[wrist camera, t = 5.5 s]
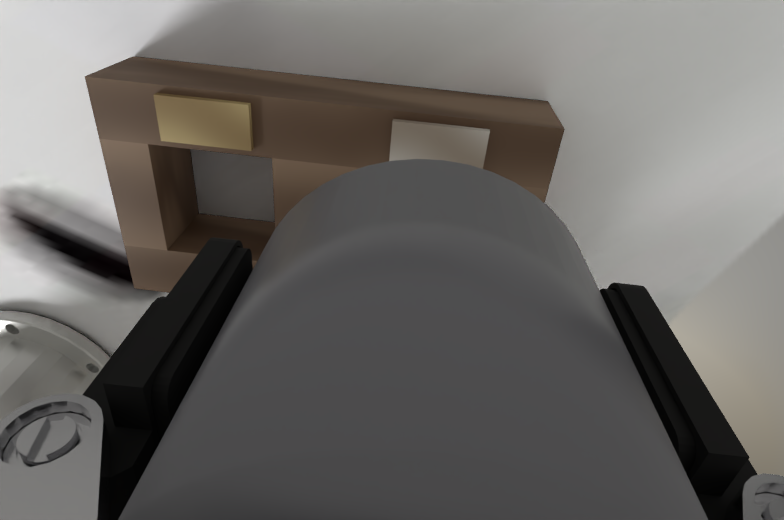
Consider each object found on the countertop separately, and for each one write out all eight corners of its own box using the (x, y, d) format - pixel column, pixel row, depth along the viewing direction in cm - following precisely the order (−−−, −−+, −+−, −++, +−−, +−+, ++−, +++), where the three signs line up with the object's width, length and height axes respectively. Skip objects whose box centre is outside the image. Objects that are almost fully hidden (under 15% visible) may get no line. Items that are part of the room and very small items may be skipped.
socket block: (501, 288, 30) (509, 336, 27) (167, 249, 31) (131, 291, 27) (547, 101, 24) (565, 131, 21) (133, 56, 25) (80, 78, 21)
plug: (521, 344, 15) (617, 786, 7) (295, 319, 16) (148, 730, 7) (587, 120, 12) (917, 507, 4) (293, 88, 12) (3, 402, 4)
